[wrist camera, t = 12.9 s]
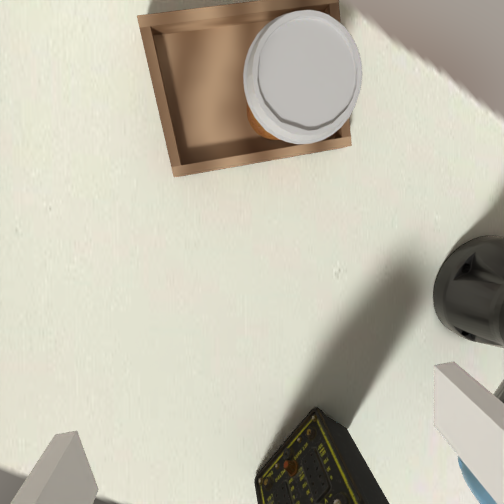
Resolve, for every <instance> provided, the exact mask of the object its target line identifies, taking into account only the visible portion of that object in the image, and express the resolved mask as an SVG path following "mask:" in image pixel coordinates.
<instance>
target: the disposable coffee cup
mask: <svg viewBox="0 0 504 504" xmlns="http://www.w3.org/2000/svg"><path fill="white" fill-rule="evenodd" d="M361 82H362V63H361V58H360V54H359V51H358V48H357V45H356V43H355V41H354V39H353V37H352V36H351V34H350V33H349V32H348V30H347V29H346V28H345V27H344V26H343V25H342V24H341V23H340V22H338V21H337V20H336V19H334V18H333V17H331V16H330V15H328V14H325V13H322V12H320V11H314V10H302V11H295V12H291V13H286V14H284V15H281V16H279V17H277V18H275V19H273V20H272V21H271V22H269V23H268V24H266V25H265V27H264V28H263V29H262V30H261V31H260V32H259V33H258V34H257V36H256V37H255V39H254V41H253V42H252V44H251V46H250V48H249V50H248V54H247V57H246V60H245V65H244V72H243V83H244V91H245V95H246V99H247V108H246V109H247V117H248V121H249V123H250V125H251V127H252V128H253V130H254V131H255V132H256V133H257V134H258V135H260V136H262V137H263V138H266V139H269V140H283V141H286V142H289V143H294V144H310V143H315V142H318V141H321V140H324V139H325V138H327V137H329V136H331V135H333V134H334V133H335V132H336V131H337V130H339V129H340V128H341V127H342V126H343V124H344V123H345V122H346V121H347V119H348V118H349V117H350V115H351V113H352V111H353V109H354V107H355V105H356V101H357V98H358V95H359V92H360V88H361Z"/></svg>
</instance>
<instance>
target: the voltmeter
mask: <svg viewBox="0 0 504 504" xmlns="http://www.w3.org/2000/svg"><path fill="white" fill-rule="evenodd" d="M255 489H256V495H257V501H258V504H389V502H388V500H387V499H386V497H385V495H384V493H383V492H382V490H381V488H380V486H379V485H378V483H377V481H376V479H375V478H374V476H373V474H372V472H371V471H370V469H369V467H368V465H367V464H366V462H365V460H364V458H363V457H362V455H361V453H360V451H359V450H358V448H357V446H356V444H355V442H354V441H353V439H352V437H351V435H350V434H349V432H348V430H347V429H346V428H345V427H343V426H342V425H340V424H339V423H337V422H335V421H334V420H332V419H330V418H329V417H327V416H326V415H324V414H323V412H322V410H320V409H319V408H314V409H313V410H312V411H311V412H310V413H309V414H308V415H307V417H306V418H305V419H304V420H303V421H302V422H301V424H300V425H299V426H298V427H297V428H296V430H295V431H294V432H293V433H292V434H291V435H290V437H289V438H288V439H287V440H286V441H285V443H284V444H283V445H282V446H281V447H280V448H279V450H278V451H277V452H276V453H275V454H274V456H273V457H272V458H271V459H270V460H269V461H268V463H267V464H266V465H265V466H264V467H263V468H262V470H261V471H260V472H259V473H258V474H257V476H256V477H255Z"/></svg>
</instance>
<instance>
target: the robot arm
mask: <svg viewBox="0 0 504 504" xmlns="http://www.w3.org/2000/svg"><path fill="white" fill-rule="evenodd" d="M433 300H434V307H435V311H436V313H437V316H438V318H439V319H440V321H441V322H442V323H443V324H444V325H445V326H446V327H447V328H448V329H450V330H451V331H453V332H455V333H456V334H458V335H459V336H461V337H463V338H465V339H468V340H471V341H475V342H479V343H484V344H488V345H493V346H497V347H502V348H504V237H499V236H484V237H479V238H476V239H473V240H471V241H469V242H467V243H465V244H464V245H462V246H461V247H459V248H458V249H457V250H456V251H454V252H453V253H452V254H451V255H450V257H449V258H448V259H447V260H446V262H445V263H444V265H443V266H442V268H441V270H440V272H439V274H438V276H437V279H436V282H435V286H434V294H433ZM434 426H435V428H436V429H437V430H438V431H439V433H440V434H441V435H442V436H443V438H444V439H445V440H446V441H447V442H448V444H449V445H450V446H451V447H452V449H453V450H454V451H455V452H456V454H457V455H458V462H459V466H460V469H461V471H462V474H463V477H464V479H465V481H466V483H467V485H468V486H469V488H470V490H471V491H472V493H473V494H474V496H475V497H476V499H477V500H478V502H479V503H480V504H504V380H503V381H502V383H501V384H500V386H499V387H498V389H497V390H496V391H495V393H494V394H492V393H491V392H490V391H488V390H487V389H486V388H485V387H484V386H482V385H481V384H480V383H479V382H478V381H476V380H475V379H474V378H473V377H472V376H470V375H469V374H468V373H467V372H466V371H465V370H463V369H462V368H461V367H460V366H459V365H457V364H456V363H455V362H449V363H444V364H438V365H434ZM98 490H99V489H98V487H97V484H96V481H95V479H94V476H93V473H92V470H91V468H90V465H89V462H88V459H87V457H86V454H85V451H84V448H83V446H82V443H81V440H80V438H79V435H78V432H77V431H73V432H67V433H62V434H56V435H55V436H54V437H53V439H52V440H51V442H50V443H49V445H48V447H47V448H46V450H45V451H44V453H43V454H42V456H41V457H40V459H39V460H38V462H37V463H36V465H35V466H34V468H33V469H32V471H31V473H30V474H29V476H28V477H27V479H26V480H25V482H24V483H23V485H22V486H21V488H20V490H19V491H18V492H17V494H16V495H15V497H14V499H13V500H12V502H11V503H10V504H93V502H94V499H95V497H96V494H97V492H98Z"/></svg>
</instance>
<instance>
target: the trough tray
mask: <svg viewBox="0 0 504 504" xmlns="http://www.w3.org/2000/svg"><path fill="white" fill-rule="evenodd" d="M302 10H314V11H320V12H322V13H325V14H328V15H330V16H331V17H333V18H334V19H336V20H337V21H338V22H340V11H339V0H260V1H252V2H244V3H236V4H228V5H219V6H211V7H203V8H195V9H187V10H179V11H171V12H163V13H154V14H146V15H138V16H137V18H138V23H139V27H140V32H141V36H142V40H143V45H144V49H145V53H146V58H147V62H148V67H149V71H150V75H151V80H152V84H153V88H154V93H155V97H156V101H157V106H158V110H159V115H160V119H161V123H162V128H163V132H164V136H165V141H166V145H167V150H168V154H169V158H170V163H171V167H172V171H173V176H174V177H180V176H186V175H191V174H197V173H203V172H208V171H214V170H220V169H225V168H231V167H237V166H242V165H248V164H254V163H259V162H265V161H271V160H276V159H282V158H288V157H293V156H299V155H305V154H311V153H316V152H322V151H328V150H333V149H339V148H343V147H347V146H352V144H351V133H350V122H349V118H348V119H347V121H346V122H345V123H344V124H343V126H342V127H341V128H340V129H339V130H337V131H336V132H335V133H334V134H333V135H331V136H329V137H327V138H325V139H324V140H321V141H318V142H315V143H310V144H294V143H289V142H286V141H283V140H269V139H266V138H263V137H262V136H260V135H258V134H257V133H256V132H255V131H254V130H253V128H252V127H251V125H250V123H249V121H248V117H247V109H246V108H247V99H246V95H245V91H244V83H243V72H244V65H245V60H246V57H247V54H248V50H249V48H250V46H251V44H252V42H253V41H254V39H255V37H256V36H257V34H258V33H259V32H260V31H261V30H262V29H263V28H264V27H265V25H266V24H268V23H269V22H271V21H272V20H273V19H275V18H277V17H279V16H281V15H284V14H286V13H291V12H295V11H302ZM340 23H341V22H340Z"/></svg>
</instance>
